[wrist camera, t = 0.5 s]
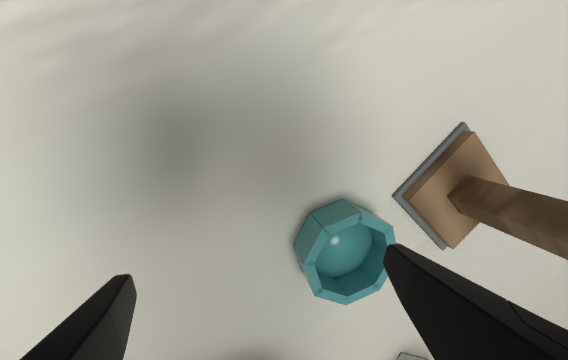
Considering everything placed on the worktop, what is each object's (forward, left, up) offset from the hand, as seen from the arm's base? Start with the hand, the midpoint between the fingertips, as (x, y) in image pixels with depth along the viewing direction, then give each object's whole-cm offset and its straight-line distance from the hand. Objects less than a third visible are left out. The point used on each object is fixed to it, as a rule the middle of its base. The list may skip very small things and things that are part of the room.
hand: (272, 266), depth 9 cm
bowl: (-10, -7, -14) cm, 19 cm away
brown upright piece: (-9, -21, -14) cm, 27 cm away
